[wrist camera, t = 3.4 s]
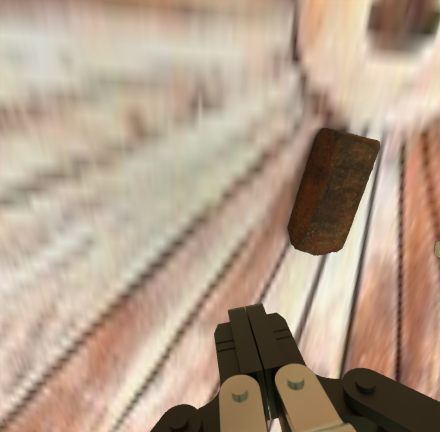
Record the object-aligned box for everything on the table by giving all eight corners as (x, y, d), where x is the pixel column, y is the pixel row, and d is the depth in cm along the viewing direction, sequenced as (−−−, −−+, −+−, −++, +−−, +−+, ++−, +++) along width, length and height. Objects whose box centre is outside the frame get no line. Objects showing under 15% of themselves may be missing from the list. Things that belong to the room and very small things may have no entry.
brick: (315, 125, 30) (338, 131, 25) (356, 134, 30) (385, 142, 26) (283, 234, 33) (298, 256, 29) (320, 240, 34) (340, 262, 29)
